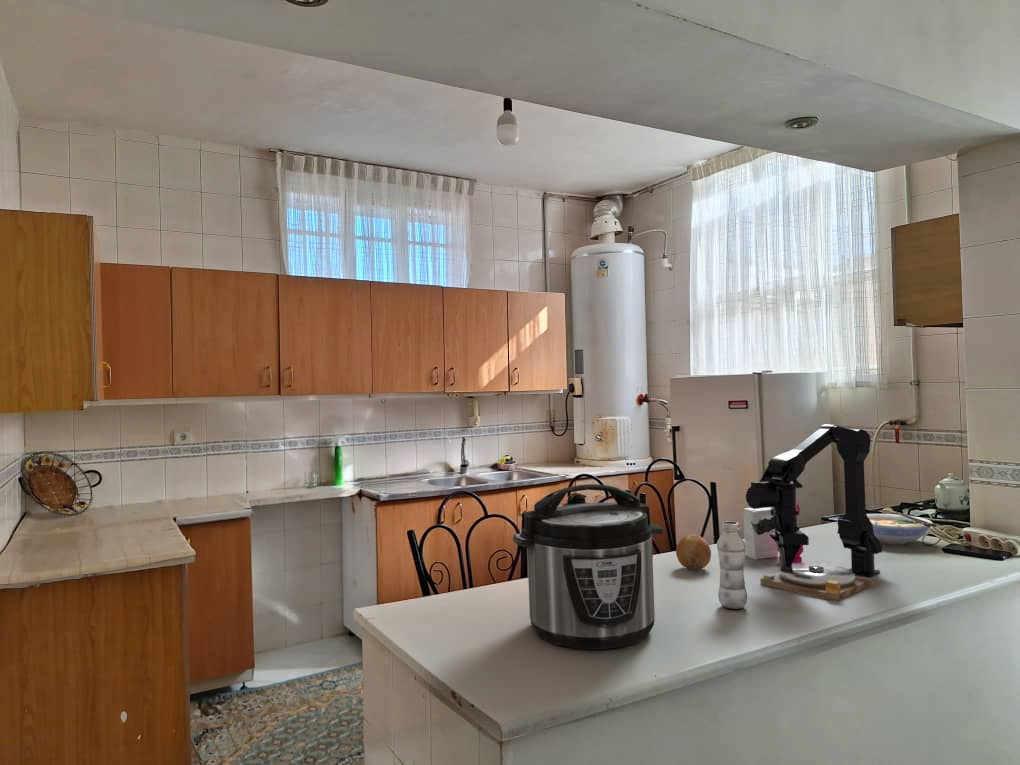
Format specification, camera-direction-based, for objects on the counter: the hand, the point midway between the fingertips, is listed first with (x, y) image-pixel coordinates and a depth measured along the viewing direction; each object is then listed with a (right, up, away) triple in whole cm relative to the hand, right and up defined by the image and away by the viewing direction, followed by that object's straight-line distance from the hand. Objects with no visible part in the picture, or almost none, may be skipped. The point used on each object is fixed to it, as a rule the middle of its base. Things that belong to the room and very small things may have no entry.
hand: (786, 565), depth 180 cm
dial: (+8, -3, -1) cm, 8 cm away
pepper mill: (+10, -5, +22) cm, 24 cm away
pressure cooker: (-55, -6, -32) cm, 64 cm away
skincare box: (+4, -6, +30) cm, 31 cm away
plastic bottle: (-20, -5, -18) cm, 27 cm away
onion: (-20, -6, +17) cm, 27 cm away
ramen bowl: (+53, -5, +45) cm, 69 cm away
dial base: (+8, -5, -1) cm, 9 cm away
